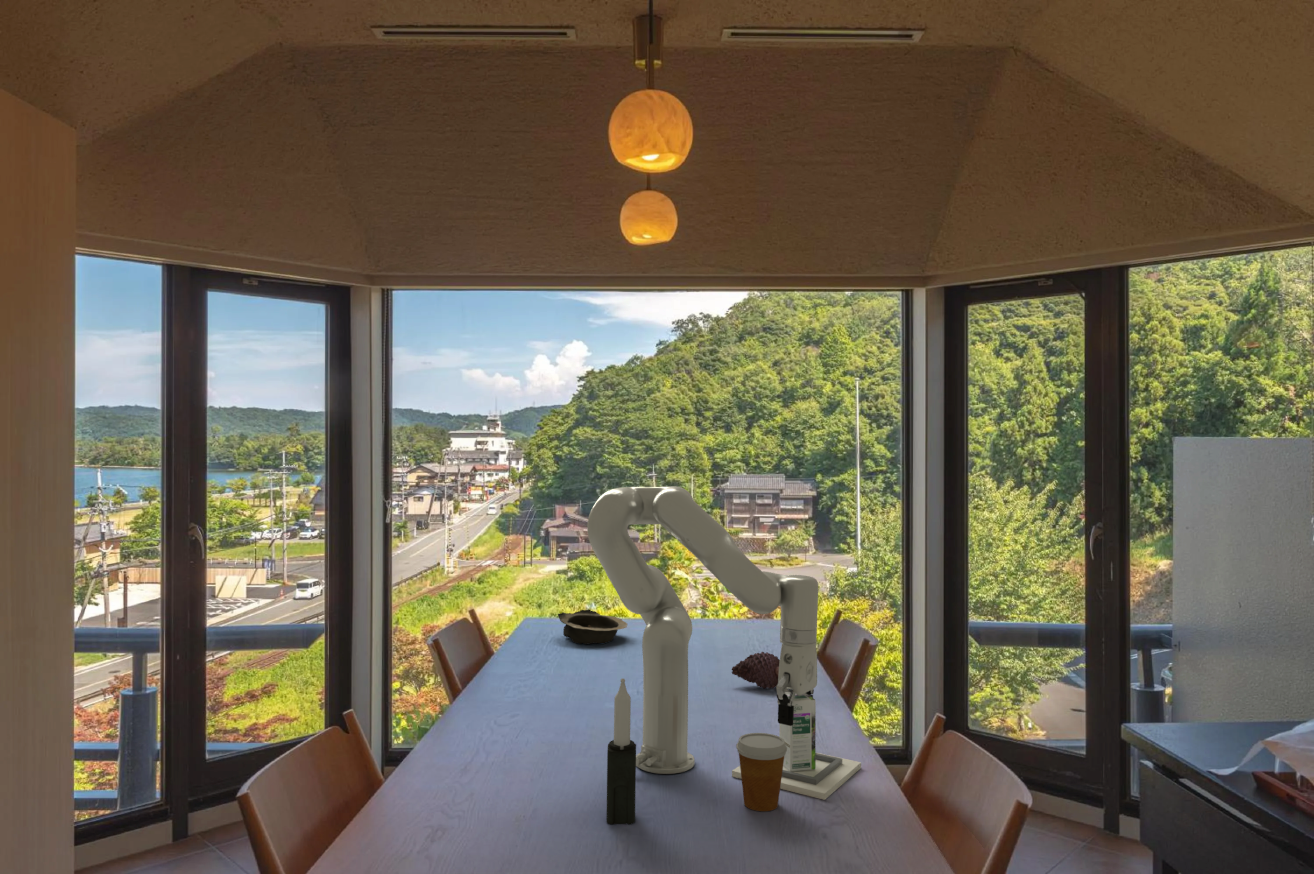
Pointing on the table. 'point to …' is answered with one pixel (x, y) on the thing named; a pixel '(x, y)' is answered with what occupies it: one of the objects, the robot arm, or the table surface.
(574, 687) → the table surface
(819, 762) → the baseplate
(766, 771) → the disposable coffee cup
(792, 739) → the syrup box
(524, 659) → the table surface
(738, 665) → the pine cone
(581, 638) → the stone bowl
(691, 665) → the table surface
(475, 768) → the table surface
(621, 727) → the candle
